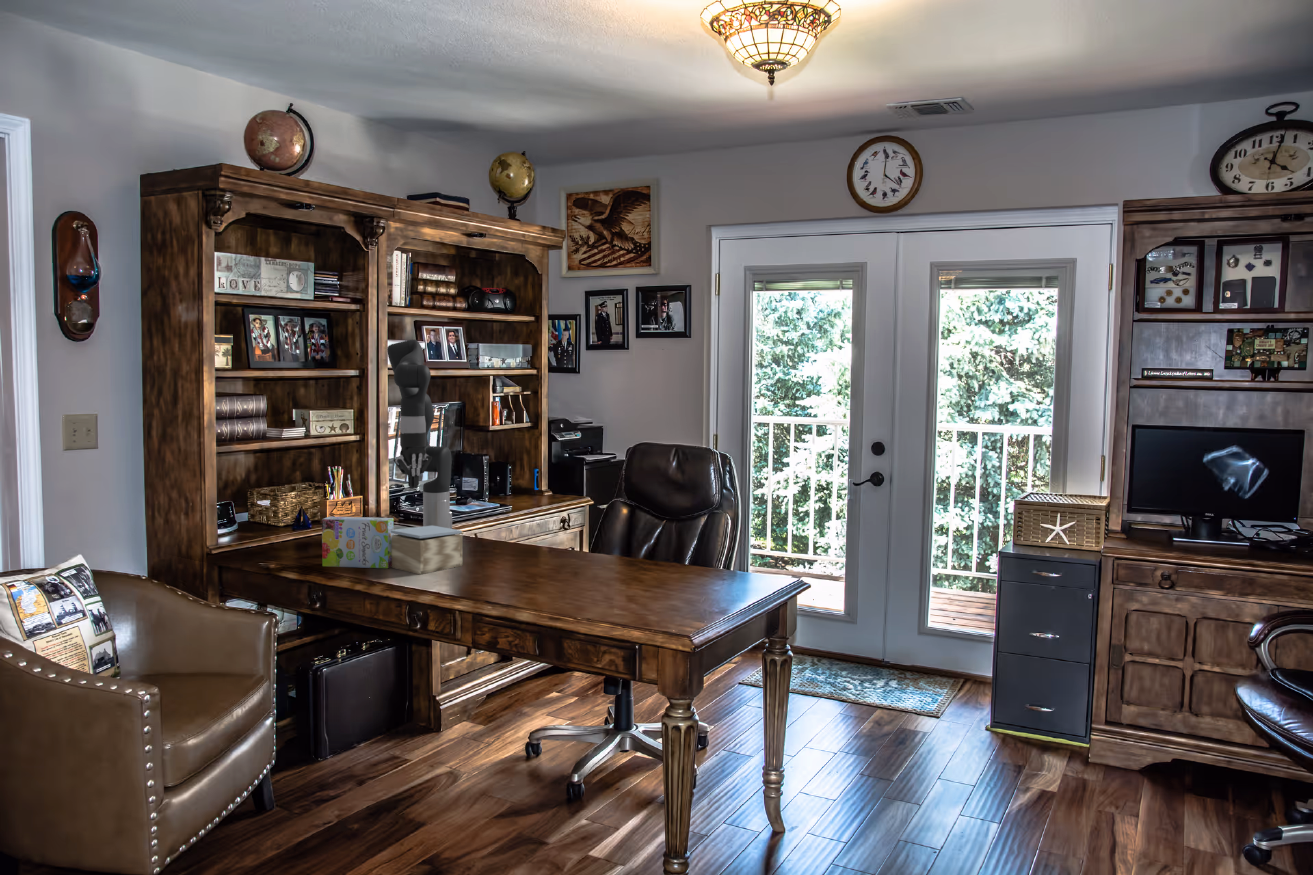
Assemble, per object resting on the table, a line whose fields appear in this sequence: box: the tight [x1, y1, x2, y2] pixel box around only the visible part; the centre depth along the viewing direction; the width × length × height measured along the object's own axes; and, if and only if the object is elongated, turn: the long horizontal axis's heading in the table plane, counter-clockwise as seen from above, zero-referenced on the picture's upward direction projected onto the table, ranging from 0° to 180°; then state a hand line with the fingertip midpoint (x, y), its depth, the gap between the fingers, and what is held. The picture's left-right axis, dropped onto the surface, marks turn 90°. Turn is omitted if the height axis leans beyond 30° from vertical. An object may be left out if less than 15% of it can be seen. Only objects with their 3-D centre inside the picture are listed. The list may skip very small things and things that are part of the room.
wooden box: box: [391, 534, 464, 575], centre depth 289 cm, size 16×14×10 cm
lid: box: [391, 525, 464, 538], centre depth 288 cm, size 17×14×1 cm
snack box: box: [321, 516, 395, 569], centre depth 289 cm, size 21×6×15 cm, turn 84°
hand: (413, 488), depth 283 cm, fingers closed
